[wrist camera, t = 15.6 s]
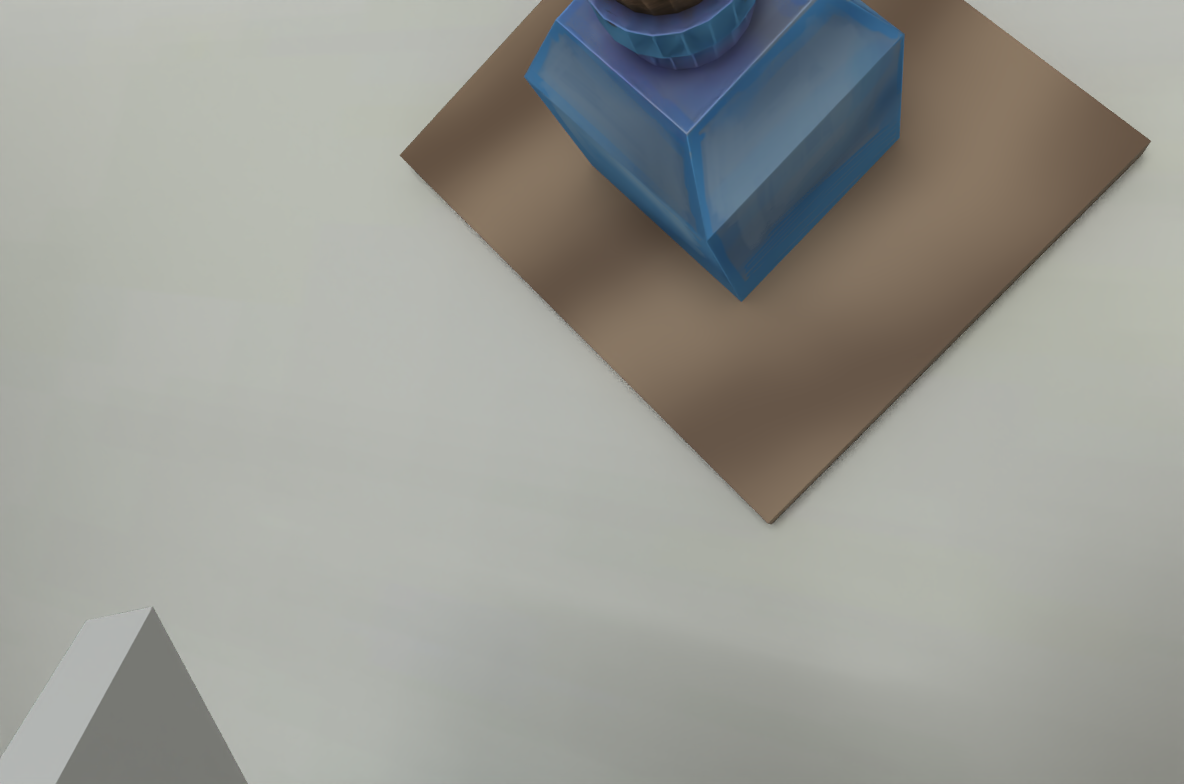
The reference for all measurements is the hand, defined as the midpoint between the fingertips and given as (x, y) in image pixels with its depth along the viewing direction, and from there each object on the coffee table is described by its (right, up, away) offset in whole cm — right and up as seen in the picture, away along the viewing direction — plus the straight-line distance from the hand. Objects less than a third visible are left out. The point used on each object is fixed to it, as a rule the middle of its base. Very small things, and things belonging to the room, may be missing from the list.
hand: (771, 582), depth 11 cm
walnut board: (+3, +9, +20) cm, 22 cm away
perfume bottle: (+2, +9, +19) cm, 21 cm away
